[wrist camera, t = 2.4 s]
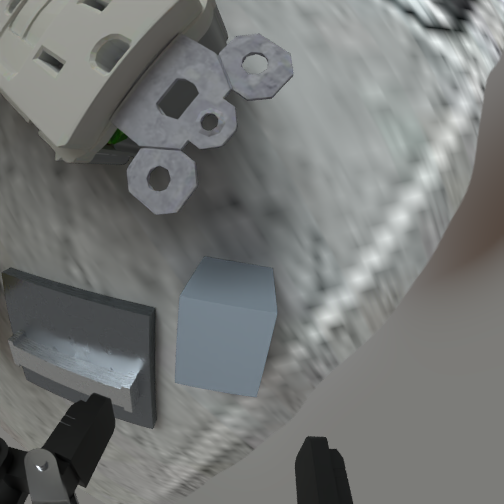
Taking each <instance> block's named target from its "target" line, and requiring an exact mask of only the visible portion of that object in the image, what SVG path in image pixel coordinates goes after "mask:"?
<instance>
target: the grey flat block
mask: <svg viewBox="0 0 504 504" xmlns="http://www.w3.org/2000/svg"><path fill="white" fill-rule="evenodd" d="M2 279H3V286H4V292H5V298H6V304H7V309H8V314H9V319H10V323H11V327H12V332H13V336H12V337H10V338H9V339H8V343H9V346H10V350H11V353H12V356H13V360H14V363H15V364H16V365H18V366H21V365H22V367H23V370H24V373H25V376H26V379H27V380H28V381H30V382H32V383H34V384H36V385H38V386H40V387H42V388H44V389H46V390H48V391H50V392H52V393H54V394H57V395H59V396H61V397H63V398H66V399H68V400H70V401H73V402H75V403H76V402H78V401H79V400H83V401H85V402H86V401H87V400H88V398H89V397H90V395H91V394H92V393H97V394H100V395H102V396H105V397H108V398H110V399H111V401H112V407H113V412H114V417H115V418H118V419H121V420H124V421H127V422H130V423H133V424H137V425H140V426H144V427H147V428H151V429H153V428H154V425H155V423H156V420H157V416H156V395H155V308H154V307H150V306H146V305H141V304H137V303H133V302H129V301H125V300H120V299H116V298H112V297H109V296H105V295H101V294H97V293H93V292H90V291H86V290H82V289H79V288H75V287H72V286H68V285H65V284H61V283H58V282H54V281H51V280H48V279H45V278H41V277H38V276H35V275H32V274H29V273H26V272H23V271H20V270H17V269H14V268H9V269H7V270H5V271H3V272H2Z"/></svg>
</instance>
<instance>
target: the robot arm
mask: <svg viewBox="0 0 504 504" xmlns="http://www.w3.org/2000/svg"><path fill="white" fill-rule="evenodd" d="M114 428H115V417H114V412H113V407H112V401H111V399H110V398H108V397H105V396H102V395H100V394H97V393H92V394H91V395H90V397H89V398H88V400H87V401H86V402H85V401H83V400H79V401H78V402H76V403H74V404H73V405H71V407H70V408H69V409H68V411H67V412H66V414H65V416H63V418H62V419H61V422H59V424H58V425H57V427H56V428H55V430H54V431H53V432H52V434H51V435H50V437H49V438H48V440H47V441H46V443H45V444H44V446H43V447H42V448H37V449H33V450H31V451H29V452H27V451H22V450H18V449H15V448H11V447H8V446H7V444H6V442H5V441H4V440H3V439H2V438H0V504H24V502H25V500H26V498H27V496H28V494H30V496H31V500H32V504H79V502H78V499H77V496H76V493H75V489H76V487H77V485H80V486H83V487H85V488H86V487H87V485H88V483H89V481H90V478H91V476H92V474H93V472H94V470H95V468H96V466H97V464H98V462H99V460H100V458H101V456H102V454H103V452H104V450H105V448H106V446H107V444H108V442H109V440H110V438H111V436H112V434H113V432H114ZM295 474H296V475H295V476H296V489H297V502H298V504H353V501H352V496H351V491H350V487H349V483H348V479H347V474H346V470H345V464H344V460H343V457H342V456H341V455H340V453H339V452H338V451H337V449H329V447H328V441H327V438H326V437H311V436H310V437H309V436H308V437H306V439H305V441H304V443H303V445H302V447H301V449H300V451H299V453H298V455H297V457H296V462H295Z"/></svg>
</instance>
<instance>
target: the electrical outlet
mask: <svg viewBox="0 0 504 504" xmlns="http://www.w3.org/2000/svg"><path fill="white" fill-rule="evenodd" d="M227 39H228V34H227V31H226V28H225V26H224V23H223V21H222V18H221V15H220V13H219V10H218V8H217V5H216V3H215V0H0V93H1V94H2V95H3V96H4V97H5V99H6V100H7V101H8V102H9V103H10V104H11V105H12V106H13V107H14V109H15V110H16V111H17V112H18V113H19V114H20V115H21V116H22V117H23V118H24V119H25V121H26V122H27V123H30V124H35V125H36V126H37V127H38V128H39V129H40V130H39V132H38V134H39V135H40V136H41V137H42V138H43V139H44V140H45V142H46V143H47V144H48V145H49V146H50V147H51V148H52V149H53V150H54V151H55V160H56V161H65V162H67V163H93V164H117V165H122V164H126V163H127V162H128V161H129V158H130V156H131V157H135V158H134V159H133V160H132V162H131V163H130V165H129V166H128V168H127V179H128V189H129V192H130V193H131V194H132V195H133V196H135V197H136V198H137V199H138V200H139V201H140V202H141V203H143V204H144V205H145V206H146V207H147V208H148V209H149V210H151V211H152V212H153V213H154V214H155V215H158V214H167V213H175V212H179V211H180V209H181V208H182V207H183V205H184V204H185V203H186V201H187V200H188V199H189V197H190V196H191V195H192V193H193V192H194V191H195V189H196V188H197V187H198V178H197V167H196V162H195V161H193V160H192V159H191V158H190V157H188V156H187V155H186V154H185V153H184V152H182V150H183V148H184V147H185V146H186V145H187V143H188V142H189V141H190V142H191V143H193V144H194V145H195V146H197V147H198V148H199V149H201V150H203V149H210V148H217V147H221V146H223V145H225V144H226V143H227V141H228V140H229V139H230V138H231V137H232V136H233V134H234V133H235V132H236V130H237V127H238V126H237V115H236V108H235V107H234V106H233V105H231V104H230V103H229V102H227V101H226V100H225V98H226V97H227V95H228V94H229V93H230V92H231V91H232V90H233V91H234V92H236V93H237V94H239V95H240V96H242V97H243V98H244V99H246V100H247V101H252V100H262V99H272V98H273V97H274V96H275V95H276V93H277V92H278V91H279V90H280V89H281V88H282V87H283V86H284V85H285V84H286V83H287V82H288V81H289V80H290V79H291V78H292V77H293V67H292V60H291V54H290V53H289V52H287V51H286V50H284V49H283V48H281V47H280V46H278V45H276V44H275V43H273V42H272V41H270V40H269V39H267V38H265V37H264V36H262V35H260V34H251V35H242V36H236V37H235V38H234V39H233V40H232V41H231V42H230V43H229V44H228V45H227V44H226V41H227ZM255 54H258V55H261V56H263V57H265V58H266V59H267V62H268V67H267V69H266V70H264V71H263V72H261V73H260V74H248V73H247V72H246V71H245V70H244V69H243V67H242V63H243V62H244V60H245V59H246V57H248V56H251V55H255ZM211 114H213V115H215V116H217V118H218V125H217V126H216V127H215V128H214V129H213V130H205V129H204V128H203V127H202V121H203V119H204V117H205V116H208V115H211ZM141 147H143V148H141ZM157 166H159V167H164V168H166V169H168V171H169V175H170V178H171V180H170V183H169V185H168V187H167V189H165V190H163V191H155V190H154V189H153V187H152V186H151V185H150V184H149V181H150V173H151V172H152V171H153V170H154V169H155V168H156V167H157Z"/></svg>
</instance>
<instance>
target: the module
mask: <svg viewBox="0 0 504 504" xmlns="http://www.w3.org/2000/svg"><path fill="white" fill-rule="evenodd" d="M276 317H277V304H276V294H275V285H274V275H273V268H270V267H264V266H258V265H252V264H246V263H240V262H235V261H229V260H223V259H217V258H212V257H206V256H204V258H203V259H202V261H201V262H200V264H199V266H198V267H197V269H196V270H195V272H194V274H193V275H192V277H191V278H190V280H189V282H188V283H187V285H186V287H185V288H184V290H183V291H182V293H181V295H180V299H179V312H178V327H177V345H176V367H175V383H178V384H183V385H188V386H192V387H197V388H202V389H208V390H213V391H219V392H224V393H230V394H237V395H243V396H251V397H257V393H258V390H259V386H260V382H261V378H262V374H263V370H264V366H265V362H266V358H267V354H268V350H269V346H270V342H271V338H272V334H273V330H274V326H275V321H276Z"/></svg>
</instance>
